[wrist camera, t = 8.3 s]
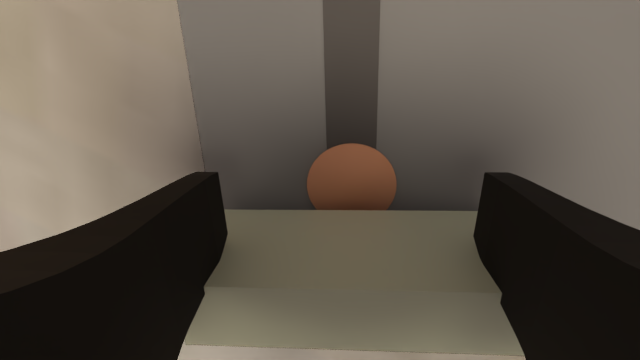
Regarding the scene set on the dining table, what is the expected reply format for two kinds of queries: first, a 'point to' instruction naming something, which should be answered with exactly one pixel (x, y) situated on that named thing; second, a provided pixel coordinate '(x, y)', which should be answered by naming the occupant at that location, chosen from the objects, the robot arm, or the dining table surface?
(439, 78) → the switch panel
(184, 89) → the dining table surface
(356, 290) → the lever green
